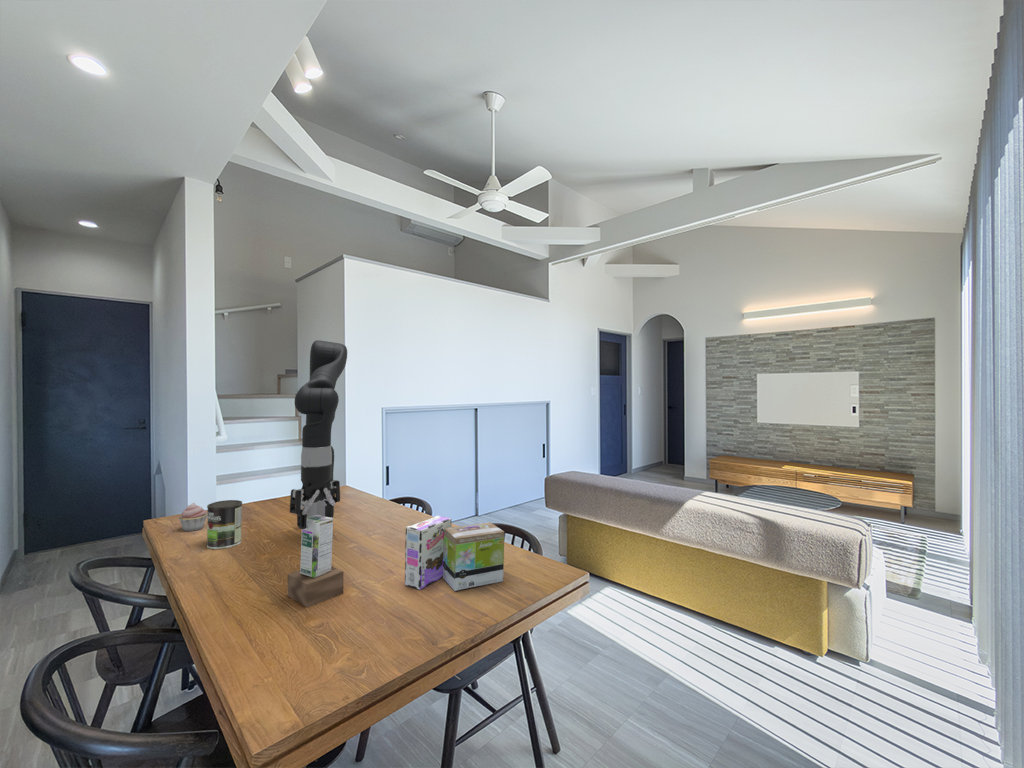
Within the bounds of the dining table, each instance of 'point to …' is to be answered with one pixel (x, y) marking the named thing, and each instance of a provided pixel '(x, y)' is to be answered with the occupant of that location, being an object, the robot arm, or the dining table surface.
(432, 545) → the candy box
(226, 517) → the coffee can
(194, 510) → the cupcake
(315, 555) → the syrup box
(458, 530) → the tea box
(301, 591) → the walnut block
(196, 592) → the dining table surface
